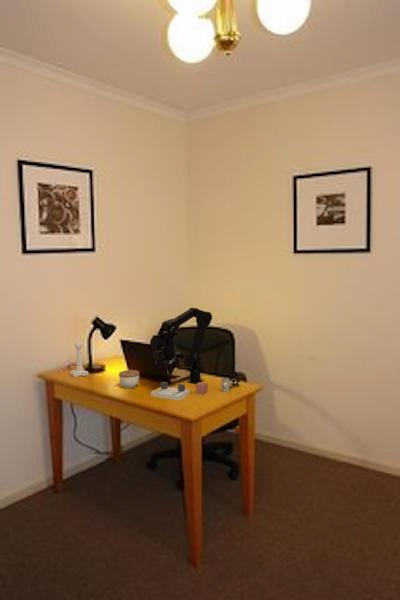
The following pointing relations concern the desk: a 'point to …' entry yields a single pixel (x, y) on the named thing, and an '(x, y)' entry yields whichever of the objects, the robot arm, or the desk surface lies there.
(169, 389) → the panel
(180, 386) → the lever
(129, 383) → the lidded jar
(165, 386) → the lever tagged
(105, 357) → the desk surface
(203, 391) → the block
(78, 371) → the joystick
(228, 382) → the valve
